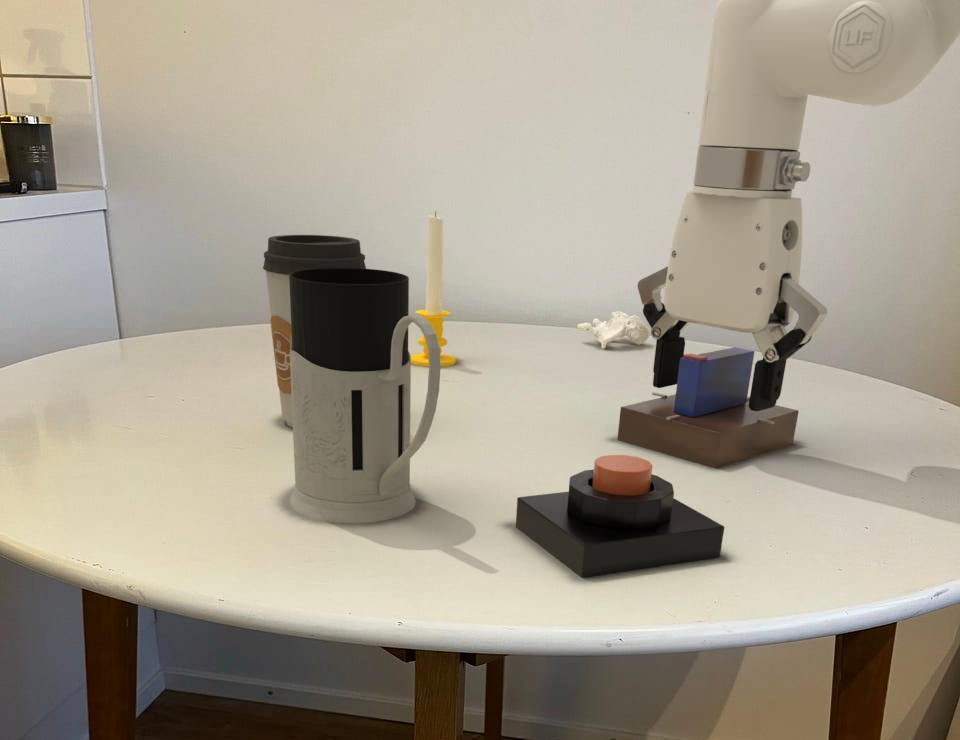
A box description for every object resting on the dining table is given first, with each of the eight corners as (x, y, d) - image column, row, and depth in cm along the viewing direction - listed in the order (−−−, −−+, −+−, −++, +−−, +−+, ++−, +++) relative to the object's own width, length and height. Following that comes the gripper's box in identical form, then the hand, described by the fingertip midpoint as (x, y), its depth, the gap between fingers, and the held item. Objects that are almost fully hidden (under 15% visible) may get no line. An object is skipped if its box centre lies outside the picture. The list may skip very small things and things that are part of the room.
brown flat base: (688, 417, 96) (693, 383, 94) (804, 447, 88) (811, 411, 87) (606, 438, 88) (609, 402, 86) (725, 473, 80) (731, 434, 79)
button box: (642, 512, 71) (649, 457, 69) (719, 559, 64) (729, 498, 62) (515, 528, 67) (518, 470, 66) (581, 580, 60) (587, 516, 58)
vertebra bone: (621, 307, 129) (660, 310, 124) (620, 342, 130) (657, 346, 125) (574, 310, 124) (612, 314, 119) (573, 346, 126) (610, 351, 121)
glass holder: (374, 475, 76) (372, 264, 69) (488, 534, 66) (499, 294, 59) (267, 494, 71) (254, 269, 65) (372, 561, 61) (370, 304, 55)
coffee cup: (253, 419, 89) (242, 235, 82) (334, 407, 94) (330, 232, 87) (303, 442, 83) (296, 247, 76) (386, 427, 88) (386, 243, 81)
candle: (456, 358, 115) (461, 210, 108) (454, 368, 110) (459, 213, 103) (410, 356, 115) (412, 207, 108) (406, 366, 110) (408, 211, 103)
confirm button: (629, 478, 66) (632, 452, 65) (660, 495, 63) (663, 468, 63) (581, 484, 65) (584, 457, 64) (610, 501, 62) (613, 474, 61)
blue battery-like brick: (727, 399, 90) (735, 344, 88) (746, 403, 88) (755, 348, 86) (673, 412, 85) (680, 354, 82) (692, 417, 83) (700, 359, 81)
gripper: (872, 182, 75) (827, 411, 83) (680, 168, 86) (656, 372, 94) (821, 182, 70) (778, 426, 78) (625, 168, 81) (605, 383, 89)
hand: (712, 396), depth 86 cm, fingers open, 9 cm apart
